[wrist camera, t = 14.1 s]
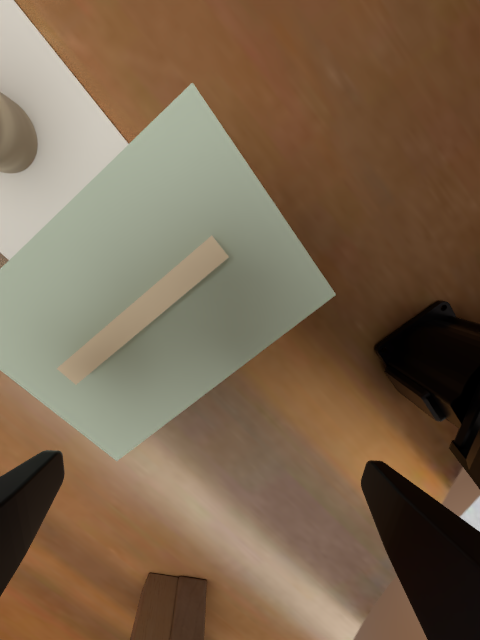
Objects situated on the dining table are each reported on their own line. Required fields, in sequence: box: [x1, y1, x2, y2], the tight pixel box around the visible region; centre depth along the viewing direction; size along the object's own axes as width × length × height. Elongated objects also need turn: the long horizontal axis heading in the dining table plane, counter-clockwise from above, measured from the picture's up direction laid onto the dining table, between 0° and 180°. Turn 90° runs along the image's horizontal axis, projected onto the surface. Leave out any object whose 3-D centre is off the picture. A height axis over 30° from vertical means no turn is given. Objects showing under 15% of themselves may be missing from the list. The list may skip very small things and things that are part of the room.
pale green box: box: [0, 83, 336, 461], centre depth 14 cm, size 24×18×6 cm
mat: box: [0, 0, 129, 260], centre depth 14 cm, size 11×11×1 cm
